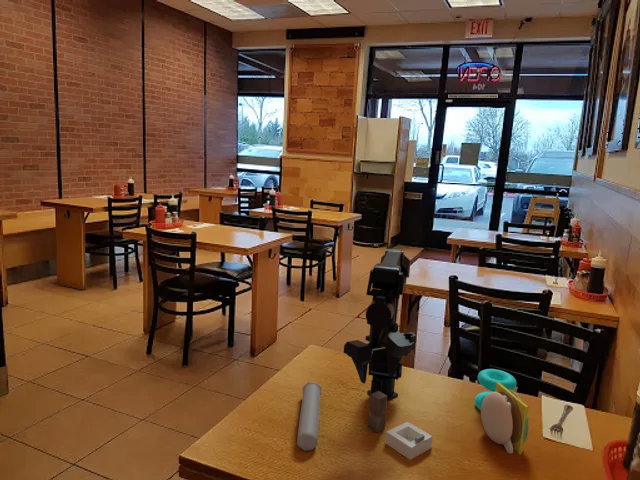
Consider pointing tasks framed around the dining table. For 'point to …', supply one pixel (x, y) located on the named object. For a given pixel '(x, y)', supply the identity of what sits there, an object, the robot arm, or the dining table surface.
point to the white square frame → (408, 440)
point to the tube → (309, 417)
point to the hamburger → (505, 418)
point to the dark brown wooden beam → (377, 411)
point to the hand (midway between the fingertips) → (377, 379)
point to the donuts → (493, 382)
